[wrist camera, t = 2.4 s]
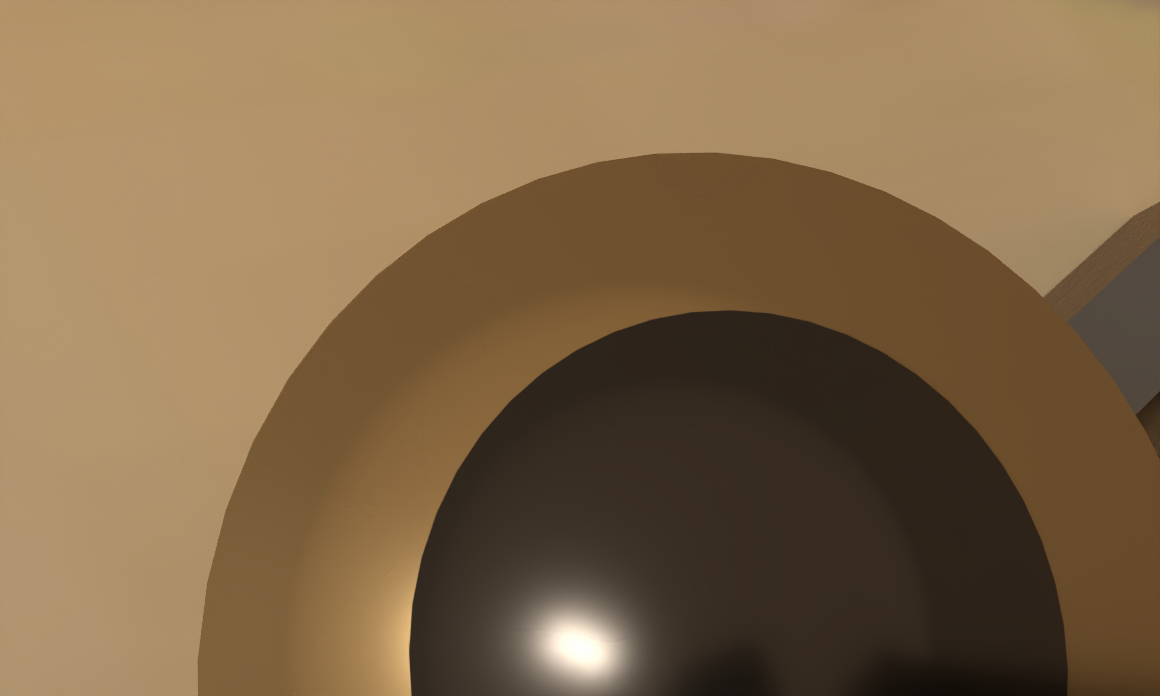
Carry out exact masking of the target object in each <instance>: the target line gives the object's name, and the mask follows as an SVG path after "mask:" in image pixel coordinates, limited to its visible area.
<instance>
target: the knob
mask: <svg viewBox="0 0 1160 696" xmlns="http://www.w3.org/2000/svg"><path fill="white" fill-rule="evenodd" d="M198 696H1160V459H1159V457H1158V455H1157V453H1156V451H1155V449H1154V447H1153V445H1152V442H1151V440H1150V438H1149V436H1148V434H1147V433H1146V431H1145V430H1144V428H1143V426H1142V425H1141V423H1140V421H1139V420H1138V418H1137V417H1136V415H1135V413H1134V412H1133V410H1132V409H1131V407H1130V405H1129V404H1128V402H1127V400H1126V399H1125V397H1124V396H1123V394H1122V392H1121V391H1120V389H1119V388H1118V386H1117V384H1116V383H1115V381H1114V380H1113V379H1112V377H1111V376H1110V375H1109V374H1108V372H1107V371H1106V370H1105V368H1104V367H1103V366H1102V365H1101V363H1100V362H1099V361H1098V359H1097V358H1096V357H1095V356H1094V354H1093V353H1092V352H1091V350H1090V349H1089V348H1088V347H1087V345H1086V344H1085V343H1084V341H1083V340H1082V339H1081V338H1080V336H1079V335H1078V334H1077V333H1076V331H1075V330H1074V329H1073V328H1072V327H1071V326H1070V325H1069V324H1068V323H1067V322H1066V321H1065V320H1064V319H1063V318H1062V317H1061V316H1060V315H1059V314H1058V313H1057V312H1056V311H1055V310H1054V309H1053V308H1052V307H1051V306H1050V305H1049V304H1048V303H1047V302H1046V301H1045V300H1044V299H1043V297H1042V296H1041V295H1040V294H1039V293H1038V292H1037V291H1036V290H1035V289H1034V288H1032V287H1031V286H1030V285H1029V284H1028V283H1026V282H1025V281H1024V280H1023V279H1022V278H1020V277H1019V276H1018V275H1017V274H1015V273H1014V272H1013V271H1012V270H1011V269H1009V268H1008V267H1007V266H1006V265H1005V264H1003V263H1002V262H1001V261H1000V260H999V259H997V258H996V257H995V256H994V255H992V254H991V253H990V252H989V251H988V250H986V249H984V248H983V247H981V246H980V245H978V244H977V243H975V242H974V241H972V240H971V239H969V238H968V237H966V236H965V235H963V234H961V233H960V232H958V231H957V230H955V229H954V228H952V227H951V226H949V225H948V224H946V223H945V222H943V221H942V220H940V219H938V218H937V217H935V216H933V215H931V214H929V213H927V212H925V211H923V210H921V209H919V208H917V207H915V206H913V205H911V204H909V203H907V202H905V201H903V200H901V199H899V198H897V197H895V196H893V195H891V194H889V193H887V192H884V191H881V190H879V189H876V188H873V187H870V186H868V185H865V184H862V183H859V182H857V181H854V180H851V179H848V178H846V177H843V176H840V175H837V174H834V173H832V172H828V171H824V170H820V169H815V168H811V167H807V166H802V165H798V164H794V163H789V162H785V161H781V160H776V159H770V158H761V157H752V156H742V155H733V154H723V153H671V154H651V155H644V156H638V157H631V158H624V159H617V160H610V161H604V162H597V163H593V164H590V165H586V166H583V167H579V168H576V169H572V170H569V171H565V172H561V173H558V174H554V175H551V176H547V177H544V178H540V179H537V180H535V181H533V182H530V183H528V184H526V185H523V186H521V187H519V188H516V189H514V190H512V191H509V192H507V193H505V194H502V195H500V196H498V197H495V198H493V199H491V200H488V201H486V202H484V203H481V204H480V205H478V206H476V207H475V208H473V209H471V210H470V211H468V212H466V213H465V214H463V215H461V216H460V217H458V218H456V219H455V220H453V221H451V222H450V223H448V224H446V225H444V226H443V227H441V228H439V229H438V230H436V231H434V232H433V233H431V234H429V235H428V236H426V237H425V238H424V239H423V240H421V241H420V242H419V243H417V244H416V245H415V246H414V247H412V248H411V249H410V250H409V251H407V252H406V253H405V254H403V255H402V256H401V257H400V258H398V259H397V260H396V261H395V262H393V263H392V264H391V265H389V266H388V267H387V268H386V269H384V270H383V271H382V272H381V273H379V274H378V275H377V276H376V277H375V278H374V279H373V280H372V281H371V282H370V283H369V284H368V285H367V286H366V287H365V288H364V289H363V290H362V291H361V292H360V293H359V294H358V295H357V296H356V297H355V298H354V299H353V300H352V301H351V302H350V303H349V304H348V305H347V307H346V308H345V309H344V310H343V311H342V312H341V313H340V314H339V315H338V316H337V317H336V318H335V319H334V320H333V321H332V322H331V323H330V324H329V325H328V327H327V328H326V329H325V331H324V332H323V333H322V335H321V336H320V337H319V339H318V340H317V341H316V343H315V344H314V345H313V347H312V348H311V349H310V351H309V352H308V353H307V355H306V356H305V358H304V359H303V360H302V362H301V363H300V364H299V366H298V367H297V368H296V370H295V371H294V372H293V374H292V375H291V376H290V378H289V379H288V381H287V382H286V384H285V386H284V388H283V390H282V391H281V393H280V395H279V397H278V399H277V400H276V402H275V404H274V406H273V407H272V409H271V411H270V413H269V415H268V416H267V418H266V420H265V422H264V423H263V425H262V427H261V429H260V431H259V432H258V434H257V436H256V438H255V440H254V441H253V444H252V446H251V449H250V451H249V454H248V456H247V459H246V461H245V464H244V466H243V469H242V471H241V474H240V476H239V479H238V481H237V484H236V486H235V489H234V491H233V494H232V496H231V499H230V501H229V504H228V506H227V509H226V512H225V516H224V520H223V524H222V528H221V532H220V536H219V539H218V543H217V547H216V551H215V555H214V559H213V563H212V567H211V571H210V575H209V578H208V582H207V590H206V598H205V606H204V614H203V623H202V631H201V639H200V647H199V656H198Z"/></svg>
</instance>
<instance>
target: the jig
mask: <svg viewBox="0 0 1160 696" xmlns="http://www.w3.org/2000/svg"><path fill="white" fill-rule="evenodd" d="M1043 299H1044V300H1045V301H1046V302H1047V303H1048V304H1049V305H1050V306H1051V307H1052V308H1053V309H1054V310H1055V311H1056V312H1057V313H1058V314H1059V315H1060V316H1061V317H1062V318H1063V319H1064V320H1065V321H1066V322H1067V323H1068V324H1069V325H1070V326H1071V327H1072V328H1073V329H1074V330H1075V331H1076V333H1077V334H1078V335H1079V336H1080V338H1081V339H1082V340H1083V341H1084V343H1085V344H1086V345H1087V347H1088V348H1089V349H1090V350H1091V352H1092V353H1093V354H1094V356H1095V357H1096V358H1097V359H1098V361H1099V362H1100V363H1101V365H1102V366H1103V367H1104V368H1105V370H1106V371H1107V372H1108V374H1109V375H1110V376H1111V377H1112V379H1113V380H1114V381H1115V383H1116V384H1117V386H1118V388H1119V389H1120V391H1121V392H1122V394H1123V396H1124V397H1125V399H1126V400H1127V402H1128V404H1129V405H1130V407H1131V409H1132V410H1133V412H1134V413H1135V415H1136V414H1137V413H1138V412H1139V411H1140V410H1141V409H1142V408H1143V407H1144V406H1145V405H1146V404H1147V403H1148V402H1149V401H1150V400H1151V399H1152V398H1153V397H1154V396H1155V395H1156V394H1157V393H1158V392H1159V391H1160V202H1159V203H1157V204H1155V205H1153V206H1151V207H1149V208H1148V209H1146V210H1144V211H1142V212H1140V213H1138V214H1136V215H1135V216H1133V217H1132V218H1131V219H1130V220H1129V221H1128V222H1127V223H1126V224H1124V225H1123V226H1122V227H1121V228H1120V229H1119V230H1118V231H1117V232H1116V233H1114V234H1113V235H1112V236H1111V237H1110V238H1109V239H1108V240H1107V241H1106V242H1104V243H1103V244H1102V245H1101V246H1100V247H1099V248H1098V249H1097V250H1096V251H1095V252H1093V253H1092V254H1091V255H1090V256H1089V257H1088V258H1087V259H1086V260H1085V261H1083V262H1082V263H1081V264H1080V265H1079V266H1078V267H1077V268H1076V269H1075V270H1073V271H1072V272H1071V273H1070V274H1069V275H1068V276H1067V277H1066V278H1065V279H1063V280H1062V281H1061V282H1060V283H1059V284H1058V285H1057V286H1056V287H1055V288H1054V289H1052V290H1051V291H1050V292H1049V293H1048V294H1047V295H1046V296H1045V297H1044V298H1043Z"/></svg>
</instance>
